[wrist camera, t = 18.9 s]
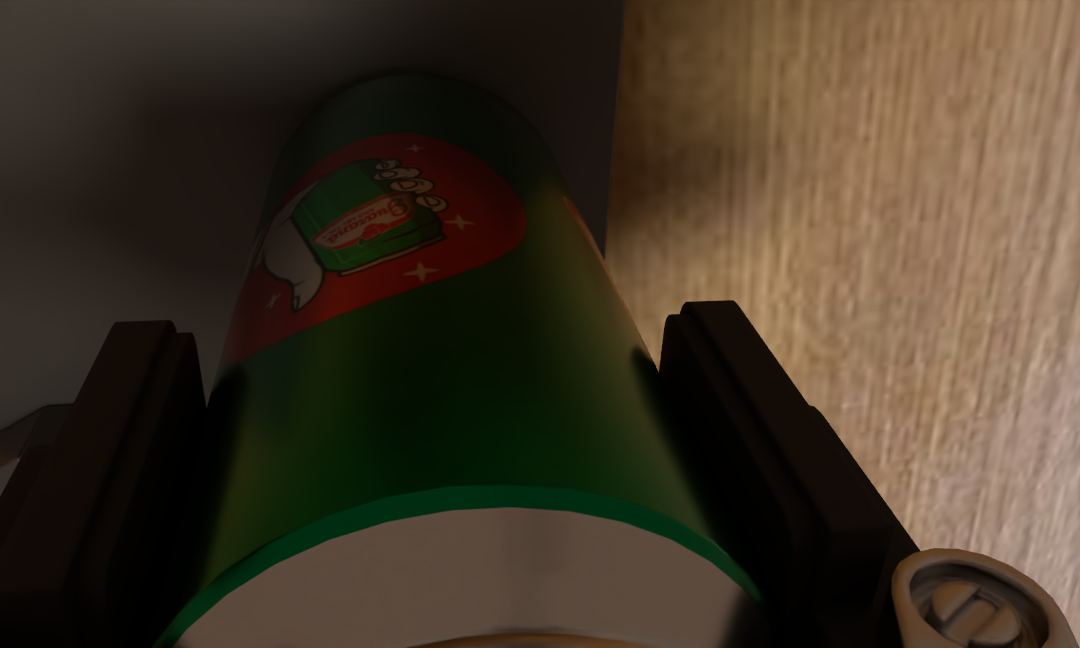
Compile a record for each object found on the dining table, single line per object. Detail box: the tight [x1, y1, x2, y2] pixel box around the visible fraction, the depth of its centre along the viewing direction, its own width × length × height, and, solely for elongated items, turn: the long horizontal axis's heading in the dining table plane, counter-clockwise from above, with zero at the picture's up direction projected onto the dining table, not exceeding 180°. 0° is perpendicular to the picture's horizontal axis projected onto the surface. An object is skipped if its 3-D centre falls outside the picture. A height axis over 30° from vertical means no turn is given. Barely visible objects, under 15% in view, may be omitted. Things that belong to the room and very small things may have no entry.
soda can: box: [140, 73, 786, 648], centre depth 11 cm, size 5×5×12 cm
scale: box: [0, 0, 626, 496], centre depth 17 cm, size 15×13×3 cm
